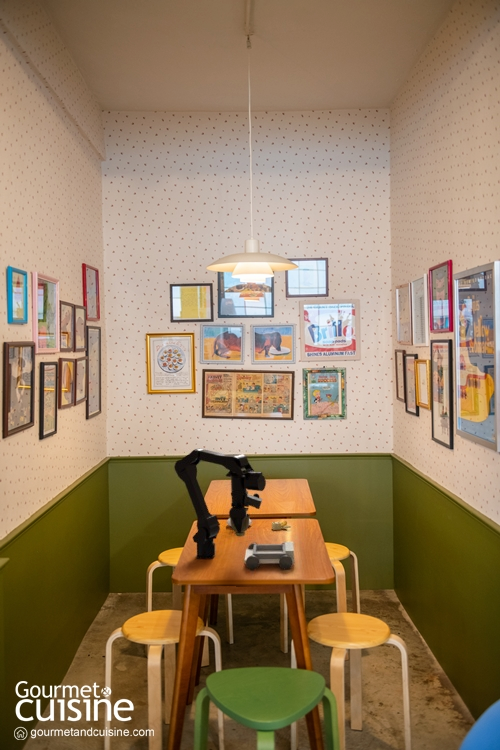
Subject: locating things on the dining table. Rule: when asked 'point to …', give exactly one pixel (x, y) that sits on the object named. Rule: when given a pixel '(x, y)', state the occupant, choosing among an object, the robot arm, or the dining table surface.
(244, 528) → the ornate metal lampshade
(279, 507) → the dining table surface
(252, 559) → the car chassis
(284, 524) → the character toy
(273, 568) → the dining table surface
